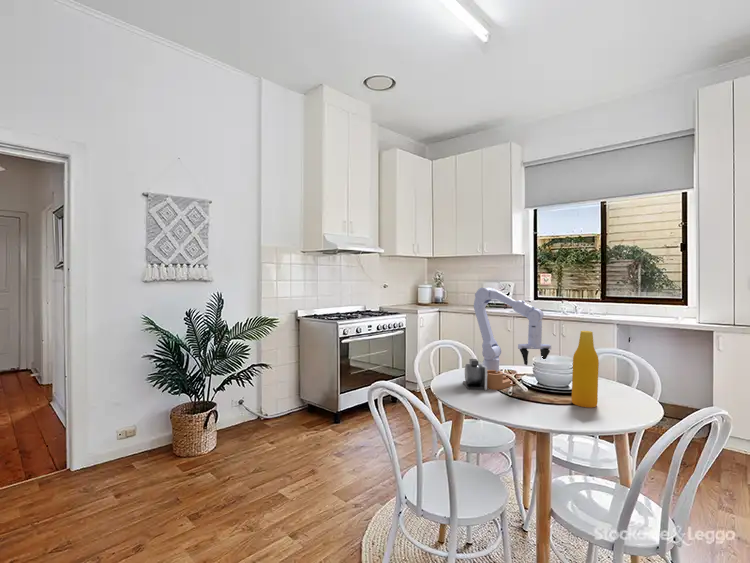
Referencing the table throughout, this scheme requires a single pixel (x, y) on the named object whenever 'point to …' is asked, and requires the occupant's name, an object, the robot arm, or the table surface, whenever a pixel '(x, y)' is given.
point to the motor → (475, 375)
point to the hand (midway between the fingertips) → (534, 364)
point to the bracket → (497, 380)
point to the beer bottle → (585, 372)
